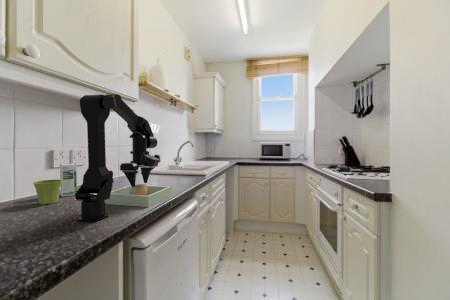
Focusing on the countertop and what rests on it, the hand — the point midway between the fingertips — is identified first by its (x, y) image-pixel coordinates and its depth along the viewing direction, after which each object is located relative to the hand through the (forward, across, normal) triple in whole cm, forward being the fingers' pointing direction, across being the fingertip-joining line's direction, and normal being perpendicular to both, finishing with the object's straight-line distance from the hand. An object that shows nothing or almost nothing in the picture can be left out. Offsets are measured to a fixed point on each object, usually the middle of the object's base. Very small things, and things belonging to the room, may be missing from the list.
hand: (139, 185), depth 99 cm
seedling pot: (+6, 0, 0) cm, 6 cm away
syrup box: (+6, -1, +36) cm, 37 cm away
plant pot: (+6, -14, +32) cm, 35 cm away
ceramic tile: (+6, -2, +20) cm, 21 cm away
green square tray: (+6, 0, 0) cm, 6 cm away
